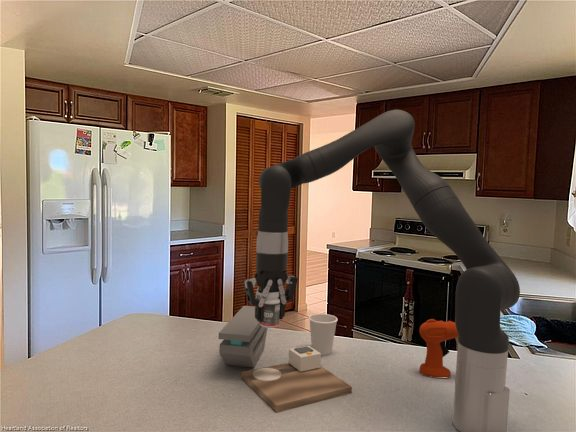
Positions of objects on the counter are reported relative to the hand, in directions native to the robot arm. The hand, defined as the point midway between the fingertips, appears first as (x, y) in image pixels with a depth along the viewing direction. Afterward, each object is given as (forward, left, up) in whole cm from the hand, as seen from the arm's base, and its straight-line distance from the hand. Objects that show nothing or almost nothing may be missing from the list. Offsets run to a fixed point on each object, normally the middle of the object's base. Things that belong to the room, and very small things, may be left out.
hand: (269, 319), depth 105 cm
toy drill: (-18, -45, -15) cm, 51 cm away
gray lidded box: (+15, -1, -15) cm, 22 cm away
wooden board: (-5, -5, -15) cm, 17 cm away
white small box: (+1, -11, -13) cm, 17 cm away
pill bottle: (0, 0, -2) cm, 2 cm away
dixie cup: (+10, -23, -15) cm, 29 cm away
